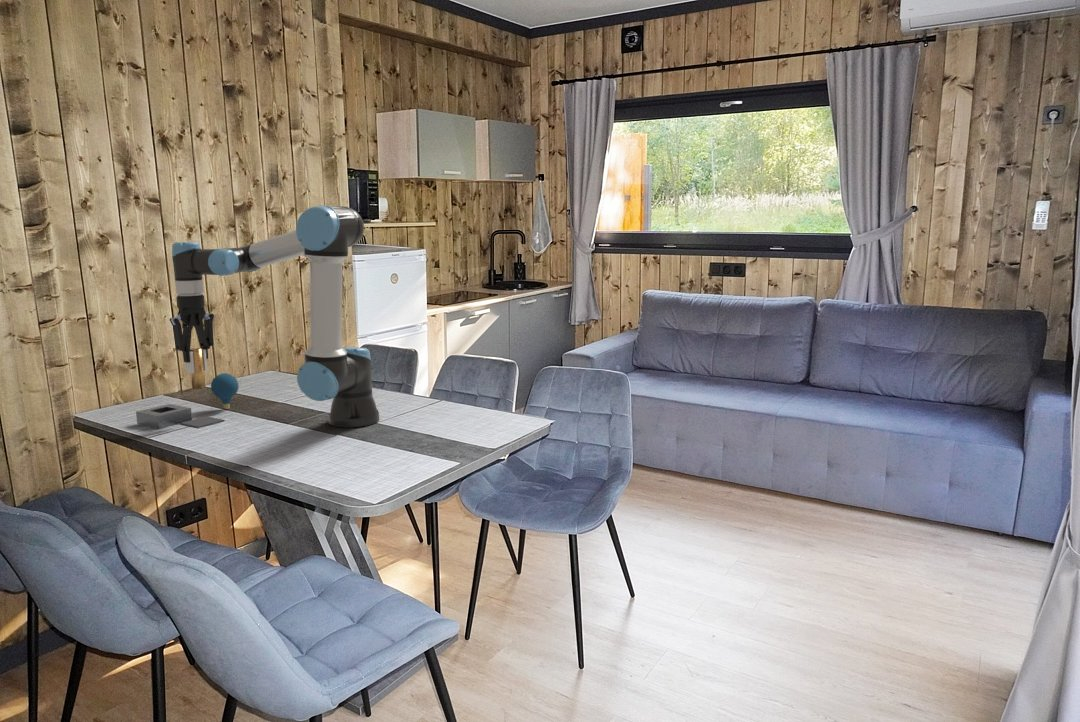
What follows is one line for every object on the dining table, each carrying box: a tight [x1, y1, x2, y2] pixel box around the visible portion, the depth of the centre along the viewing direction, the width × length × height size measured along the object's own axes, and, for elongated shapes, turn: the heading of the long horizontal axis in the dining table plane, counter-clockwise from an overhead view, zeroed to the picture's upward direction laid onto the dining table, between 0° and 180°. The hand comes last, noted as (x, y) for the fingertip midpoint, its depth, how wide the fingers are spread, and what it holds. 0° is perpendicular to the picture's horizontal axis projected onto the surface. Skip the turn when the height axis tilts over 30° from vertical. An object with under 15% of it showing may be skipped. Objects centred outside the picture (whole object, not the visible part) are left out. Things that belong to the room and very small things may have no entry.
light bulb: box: [210, 372, 240, 410], centre depth 248 cm, size 8×8×12 cm
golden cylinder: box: [189, 347, 206, 390], centre depth 230 cm, size 4×4×12 cm
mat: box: [179, 415, 225, 429], centre depth 233 cm, size 9×9×1 cm
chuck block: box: [135, 403, 193, 430], centre depth 233 cm, size 11×11×4 cm
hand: (197, 371), depth 230 cm, fingers closed on golden cylinder, 4 cm apart
